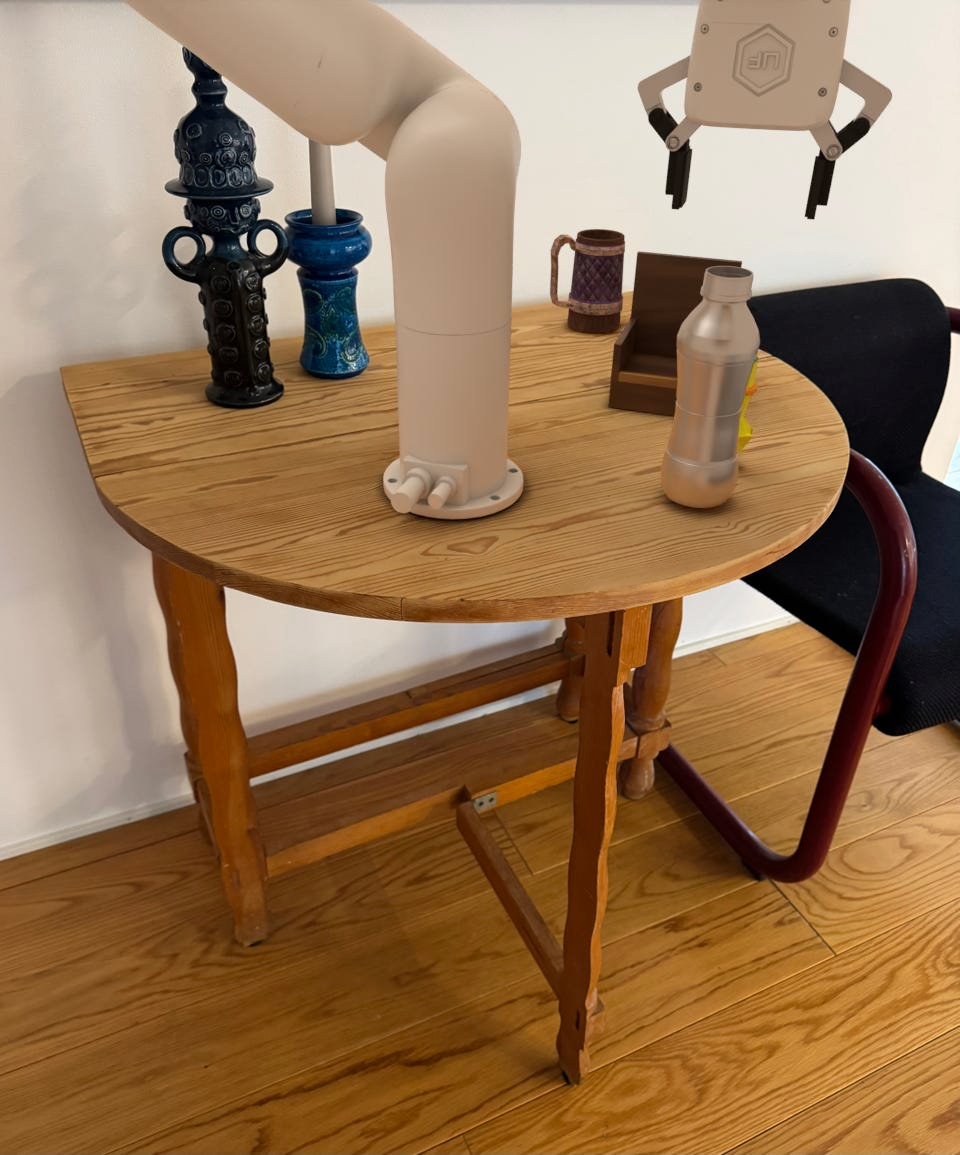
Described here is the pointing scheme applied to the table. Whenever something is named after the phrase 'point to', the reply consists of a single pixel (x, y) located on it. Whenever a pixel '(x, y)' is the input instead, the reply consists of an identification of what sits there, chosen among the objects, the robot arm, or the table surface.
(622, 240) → the mug
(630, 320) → the wooden chair
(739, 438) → the toy figure
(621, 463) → the table surface
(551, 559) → the table surface
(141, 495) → the table surface
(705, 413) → the silver water bottle
